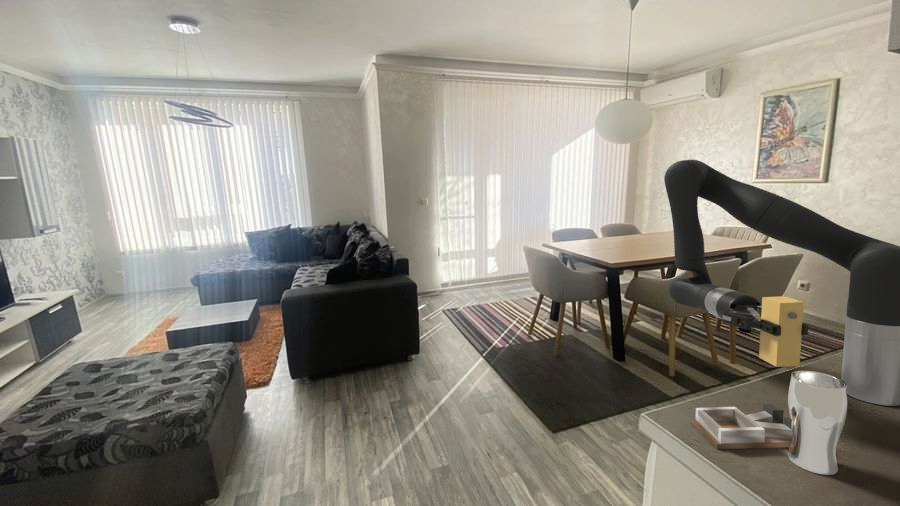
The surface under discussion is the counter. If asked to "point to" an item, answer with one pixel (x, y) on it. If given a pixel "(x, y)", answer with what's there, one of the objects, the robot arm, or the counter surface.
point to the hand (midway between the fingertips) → (792, 330)
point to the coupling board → (744, 427)
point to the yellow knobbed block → (782, 331)
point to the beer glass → (816, 420)
